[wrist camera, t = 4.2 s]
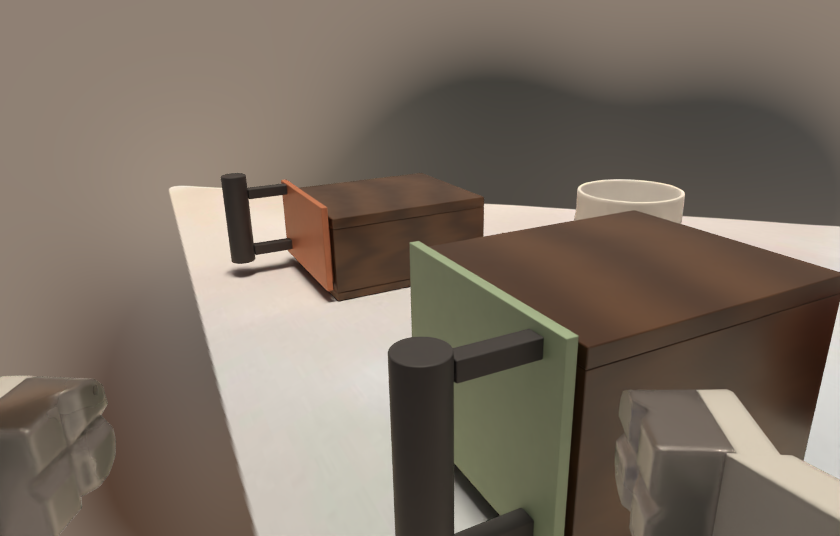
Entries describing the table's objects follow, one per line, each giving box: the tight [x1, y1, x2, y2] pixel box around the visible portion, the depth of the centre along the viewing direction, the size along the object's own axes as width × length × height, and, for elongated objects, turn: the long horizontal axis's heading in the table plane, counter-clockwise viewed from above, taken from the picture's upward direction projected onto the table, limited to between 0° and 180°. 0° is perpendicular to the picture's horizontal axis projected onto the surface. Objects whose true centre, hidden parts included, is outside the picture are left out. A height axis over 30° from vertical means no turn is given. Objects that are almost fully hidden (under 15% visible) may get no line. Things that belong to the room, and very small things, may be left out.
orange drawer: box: [221, 173, 334, 291], centre depth 65 cm, size 22×14×9 cm, turn 117°
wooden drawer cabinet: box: [429, 210, 840, 536], centre depth 35 cm, size 16×14×12 cm
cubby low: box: [299, 173, 484, 301], centre depth 67 cm, size 16×14×8 cm
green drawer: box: [388, 241, 579, 536], centre depth 33 cm, size 22×14×11 cm, turn 117°
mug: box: [574, 179, 685, 224], centre depth 56 cm, size 9×12×11 cm
